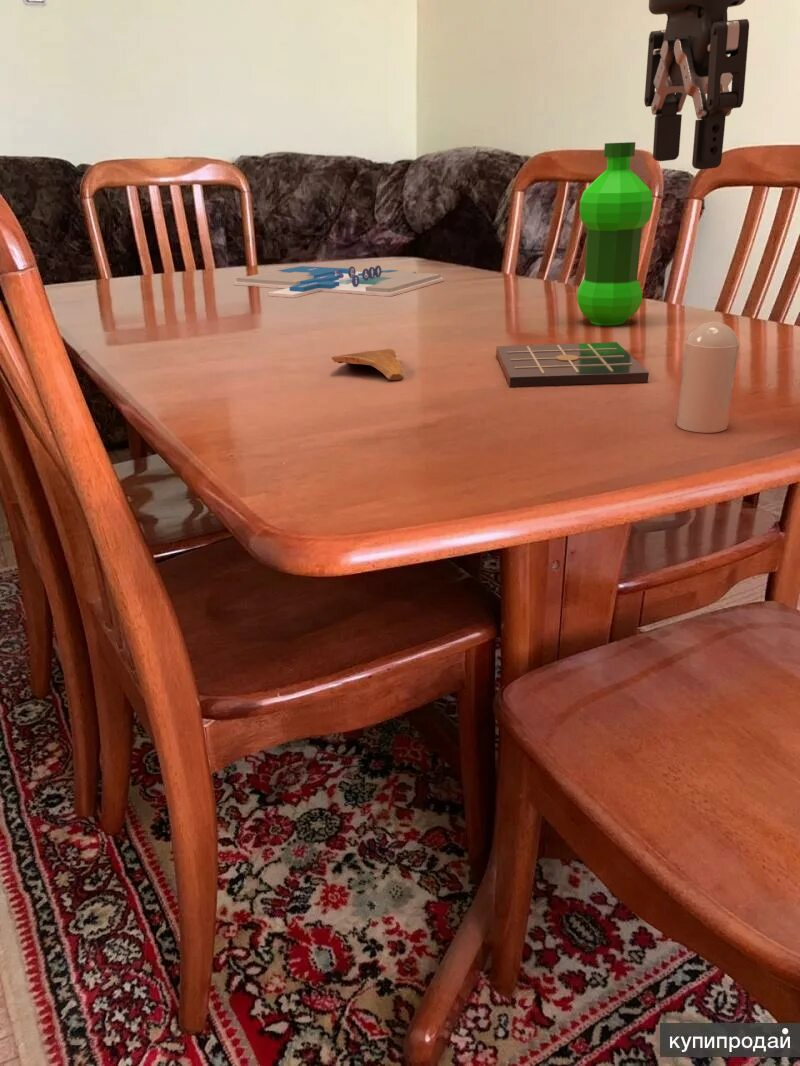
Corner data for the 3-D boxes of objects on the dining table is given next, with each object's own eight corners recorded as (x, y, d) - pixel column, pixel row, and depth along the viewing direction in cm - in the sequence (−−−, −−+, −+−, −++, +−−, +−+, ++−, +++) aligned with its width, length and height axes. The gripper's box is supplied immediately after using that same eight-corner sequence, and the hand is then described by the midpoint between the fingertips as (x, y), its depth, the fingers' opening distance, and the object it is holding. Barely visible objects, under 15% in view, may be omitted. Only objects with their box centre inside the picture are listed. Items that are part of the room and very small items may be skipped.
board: (616, 351, 110) (617, 341, 110) (648, 382, 96) (649, 371, 95) (496, 354, 110) (496, 345, 110) (509, 387, 96) (510, 375, 95)
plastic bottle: (636, 315, 131) (650, 141, 121) (645, 328, 122) (662, 141, 111) (571, 315, 132) (580, 143, 122) (576, 329, 123) (586, 144, 112)
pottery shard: (401, 382, 100) (400, 362, 99) (326, 381, 101) (325, 361, 100) (414, 361, 109) (413, 342, 108) (345, 360, 110) (344, 341, 109)
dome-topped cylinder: (717, 417, 83) (731, 316, 79) (734, 432, 79) (750, 326, 75) (669, 418, 83) (680, 318, 79) (684, 433, 79) (696, 328, 75)
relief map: (366, 303, 149) (365, 283, 148) (206, 290, 169) (204, 272, 168) (449, 279, 172) (449, 261, 170) (299, 270, 192) (298, 254, 190)
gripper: (796, -81, 59) (766, 167, 66) (708, -53, 71) (691, 153, 79) (694, -72, 58) (676, 176, 66) (623, -45, 70) (615, 161, 78)
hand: (684, 164), depth 72 cm, fingers open, 8 cm apart
